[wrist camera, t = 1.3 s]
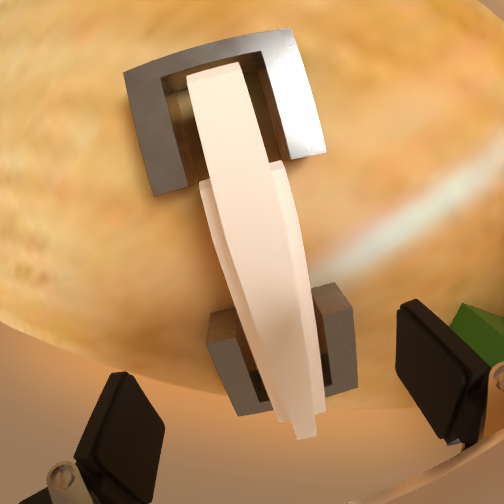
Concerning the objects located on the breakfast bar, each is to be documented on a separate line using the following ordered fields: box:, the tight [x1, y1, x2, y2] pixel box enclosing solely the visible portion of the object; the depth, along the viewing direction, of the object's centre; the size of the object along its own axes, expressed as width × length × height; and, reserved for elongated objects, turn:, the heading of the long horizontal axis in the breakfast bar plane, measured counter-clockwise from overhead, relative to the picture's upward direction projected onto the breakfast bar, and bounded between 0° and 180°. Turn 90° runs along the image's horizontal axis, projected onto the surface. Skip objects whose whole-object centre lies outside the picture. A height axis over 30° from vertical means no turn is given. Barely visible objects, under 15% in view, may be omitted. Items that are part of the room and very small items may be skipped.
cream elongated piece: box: [186, 62, 326, 440], centre depth 22 cm, size 6×25×13 cm, turn 14°
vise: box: [123, 28, 358, 416], centre depth 23 cm, size 12×31×5 cm, turn 14°
